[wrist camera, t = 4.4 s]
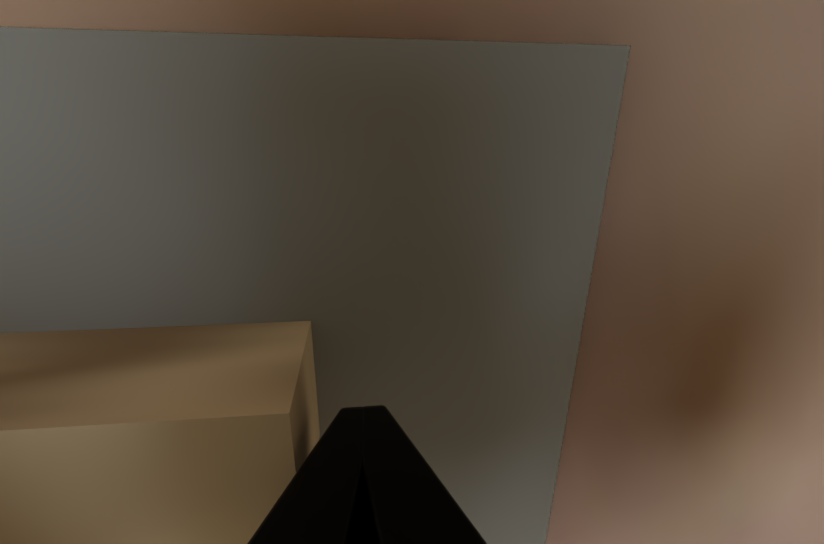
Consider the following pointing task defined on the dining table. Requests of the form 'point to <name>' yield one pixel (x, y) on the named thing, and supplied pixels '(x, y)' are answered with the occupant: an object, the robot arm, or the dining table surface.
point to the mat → (328, 219)
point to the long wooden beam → (152, 431)
